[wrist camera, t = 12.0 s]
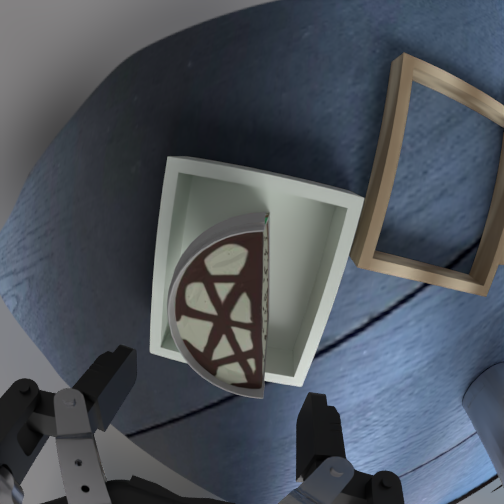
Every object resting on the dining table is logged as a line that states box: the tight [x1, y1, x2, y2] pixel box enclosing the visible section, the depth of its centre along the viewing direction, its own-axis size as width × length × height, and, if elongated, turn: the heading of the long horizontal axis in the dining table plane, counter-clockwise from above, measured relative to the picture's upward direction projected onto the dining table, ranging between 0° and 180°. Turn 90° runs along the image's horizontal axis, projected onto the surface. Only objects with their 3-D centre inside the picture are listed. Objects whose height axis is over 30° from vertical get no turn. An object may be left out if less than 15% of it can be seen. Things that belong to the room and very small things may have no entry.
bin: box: [150, 156, 364, 387], centre depth 25 cm, size 14×17×5 cm
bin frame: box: [349, 53, 504, 297], centre depth 22 cm, size 15×18×3 cm
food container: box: [167, 212, 270, 399], centre depth 22 cm, size 12×6×10 cm, turn 1°
